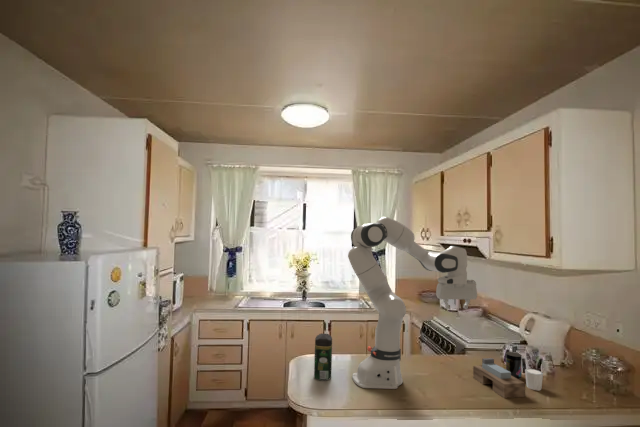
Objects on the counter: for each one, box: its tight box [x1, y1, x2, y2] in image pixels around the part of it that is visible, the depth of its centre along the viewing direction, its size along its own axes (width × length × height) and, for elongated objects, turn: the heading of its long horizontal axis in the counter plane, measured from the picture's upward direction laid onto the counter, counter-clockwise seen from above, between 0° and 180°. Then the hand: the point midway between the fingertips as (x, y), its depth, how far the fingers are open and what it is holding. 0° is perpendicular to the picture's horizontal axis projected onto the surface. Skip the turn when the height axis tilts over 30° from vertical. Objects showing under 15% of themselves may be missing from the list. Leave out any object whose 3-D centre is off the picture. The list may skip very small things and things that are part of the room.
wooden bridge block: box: [472, 364, 526, 399], centre depth 154 cm, size 10×20×6 cm, turn 12°
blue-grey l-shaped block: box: [481, 357, 511, 379], centre depth 156 cm, size 12×5×4 cm, turn 12°
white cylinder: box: [524, 368, 544, 391], centre depth 155 cm, size 7×7×7 cm
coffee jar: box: [313, 333, 333, 381], centre depth 159 cm, size 10×8×19 cm
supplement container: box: [505, 351, 523, 380], centre depth 167 cm, size 7×7×10 cm
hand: (456, 308), depth 168 cm, fingers open, 8 cm apart
